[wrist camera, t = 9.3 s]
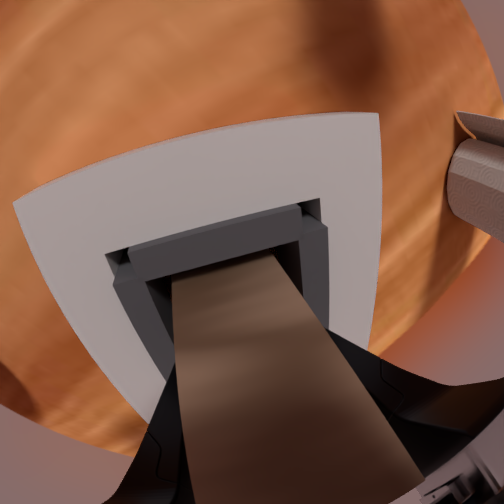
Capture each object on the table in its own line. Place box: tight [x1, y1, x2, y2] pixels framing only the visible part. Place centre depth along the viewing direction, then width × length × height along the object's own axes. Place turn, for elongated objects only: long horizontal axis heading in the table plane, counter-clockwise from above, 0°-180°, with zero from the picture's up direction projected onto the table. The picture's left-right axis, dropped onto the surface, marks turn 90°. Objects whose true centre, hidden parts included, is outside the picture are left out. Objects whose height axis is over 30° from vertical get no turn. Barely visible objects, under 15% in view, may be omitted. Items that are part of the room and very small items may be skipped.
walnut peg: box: [172, 248, 425, 504], centre depth 8 cm, size 4×4×10 cm
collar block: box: [13, 112, 382, 424], centre depth 12 cm, size 14×14×3 cm
